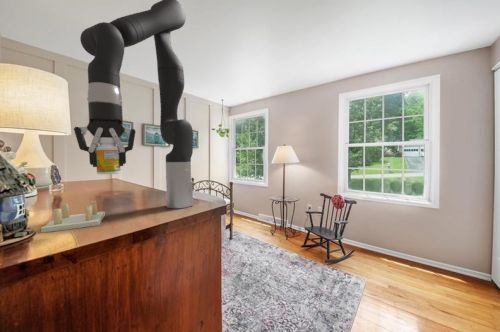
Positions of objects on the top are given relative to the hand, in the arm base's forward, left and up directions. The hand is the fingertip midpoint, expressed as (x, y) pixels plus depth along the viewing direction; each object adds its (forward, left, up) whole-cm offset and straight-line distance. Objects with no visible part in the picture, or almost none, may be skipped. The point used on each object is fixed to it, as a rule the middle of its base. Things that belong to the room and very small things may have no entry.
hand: (108, 166), depth 57 cm
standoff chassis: (+9, -9, -17) cm, 21 cm away
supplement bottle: (0, 0, -2) cm, 2 cm away
